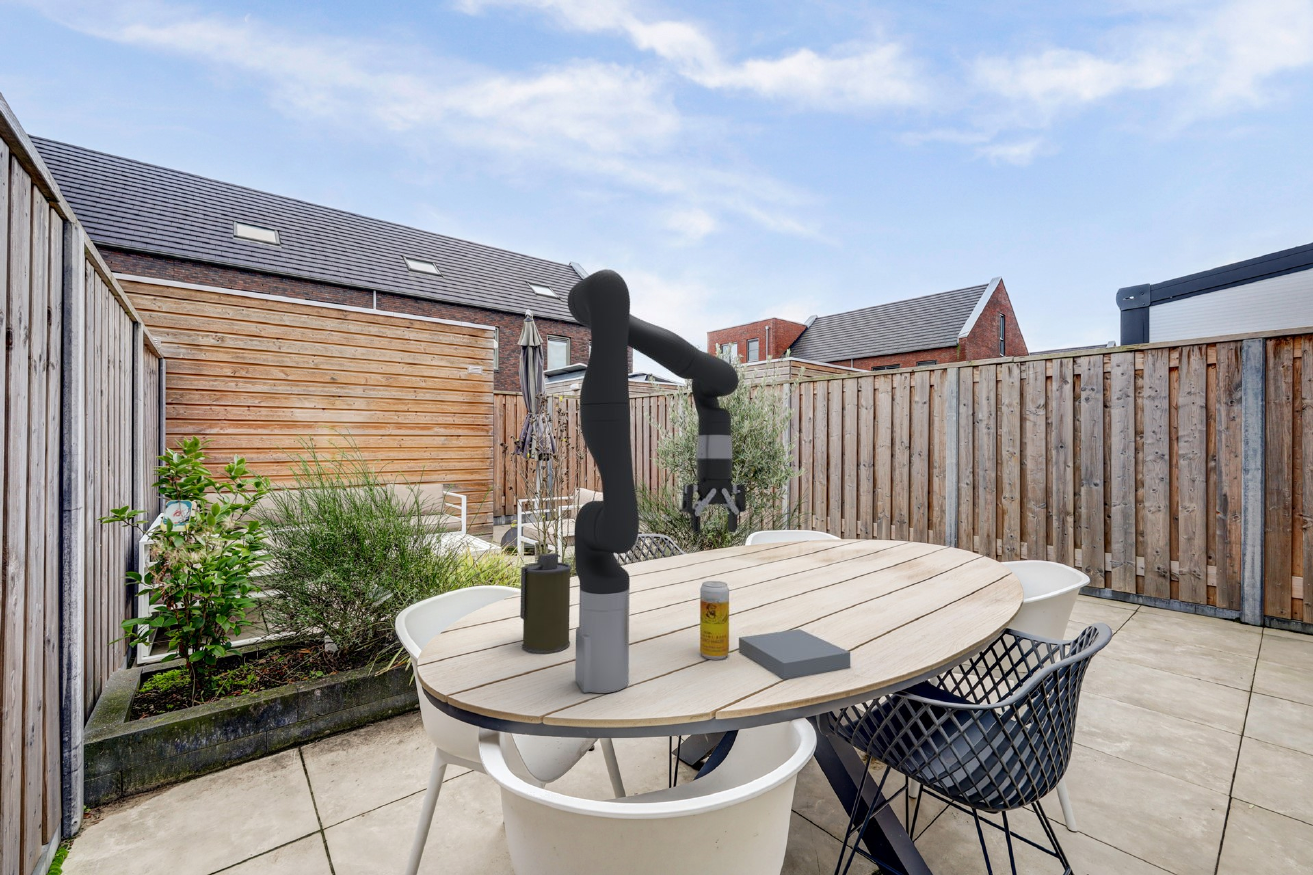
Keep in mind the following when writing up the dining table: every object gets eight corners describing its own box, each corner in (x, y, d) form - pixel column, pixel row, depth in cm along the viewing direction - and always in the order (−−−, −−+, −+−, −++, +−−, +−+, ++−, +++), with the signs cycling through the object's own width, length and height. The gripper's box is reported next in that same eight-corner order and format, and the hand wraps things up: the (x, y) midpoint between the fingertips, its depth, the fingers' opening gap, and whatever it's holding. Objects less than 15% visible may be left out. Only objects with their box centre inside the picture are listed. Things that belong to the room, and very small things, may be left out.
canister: (559, 635, 124) (560, 549, 125) (577, 648, 116) (579, 555, 117) (513, 643, 119) (515, 553, 120) (529, 657, 110) (531, 560, 111)
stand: (784, 679, 100) (784, 663, 100) (738, 651, 114) (738, 637, 115) (850, 667, 106) (850, 652, 106) (799, 642, 121) (799, 628, 121)
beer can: (697, 659, 110) (698, 585, 111) (702, 649, 116) (702, 579, 116) (727, 661, 108) (727, 587, 109) (730, 651, 114) (730, 581, 115)
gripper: (692, 456, 108) (692, 536, 107) (752, 457, 113) (752, 533, 113) (677, 456, 115) (676, 532, 114) (734, 457, 120) (734, 529, 120)
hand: (714, 532), depth 113 cm, fingers open, 8 cm apart
